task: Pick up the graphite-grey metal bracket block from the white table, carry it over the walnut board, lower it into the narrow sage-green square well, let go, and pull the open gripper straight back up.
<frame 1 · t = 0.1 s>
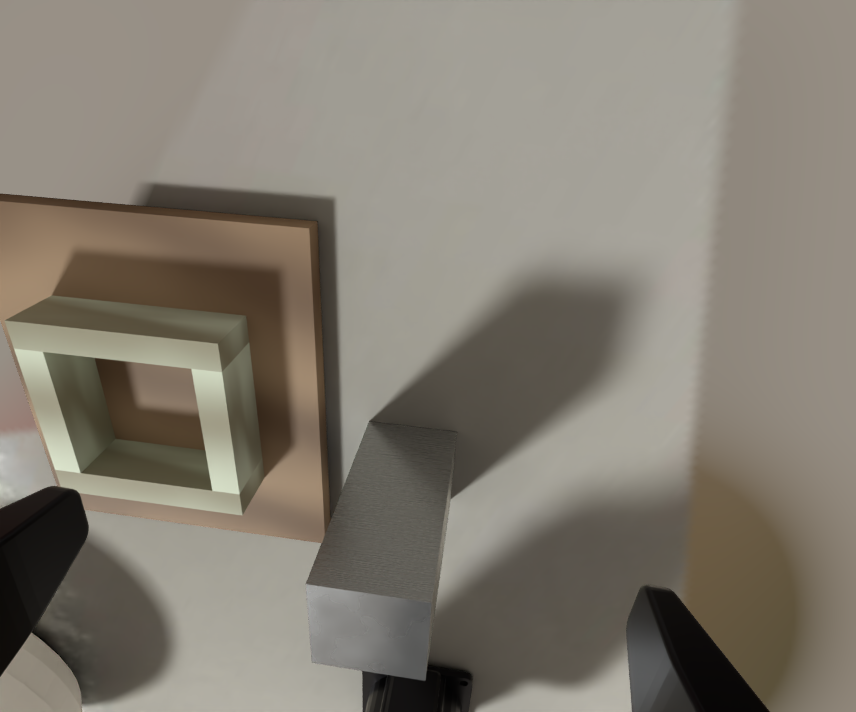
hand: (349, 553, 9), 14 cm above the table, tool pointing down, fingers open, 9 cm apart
bracket block: (411, 461, 26), on the table
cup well: (176, 380, 26), on the table
bowl: (2, 647, 39), on the table
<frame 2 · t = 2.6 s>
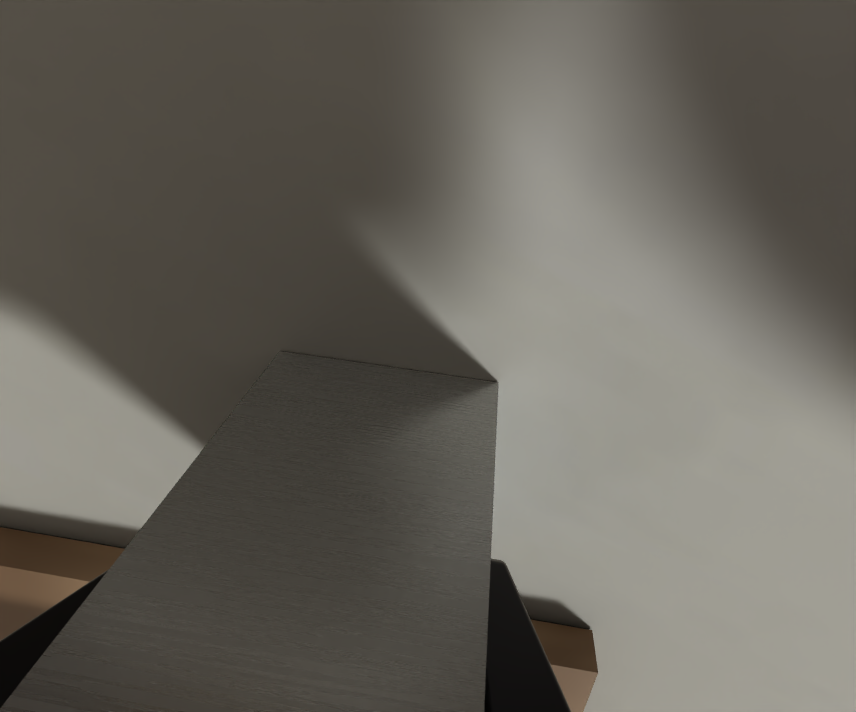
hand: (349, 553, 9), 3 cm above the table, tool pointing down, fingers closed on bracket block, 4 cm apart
bracket block: (382, 454, 11), on the table, touching gripper
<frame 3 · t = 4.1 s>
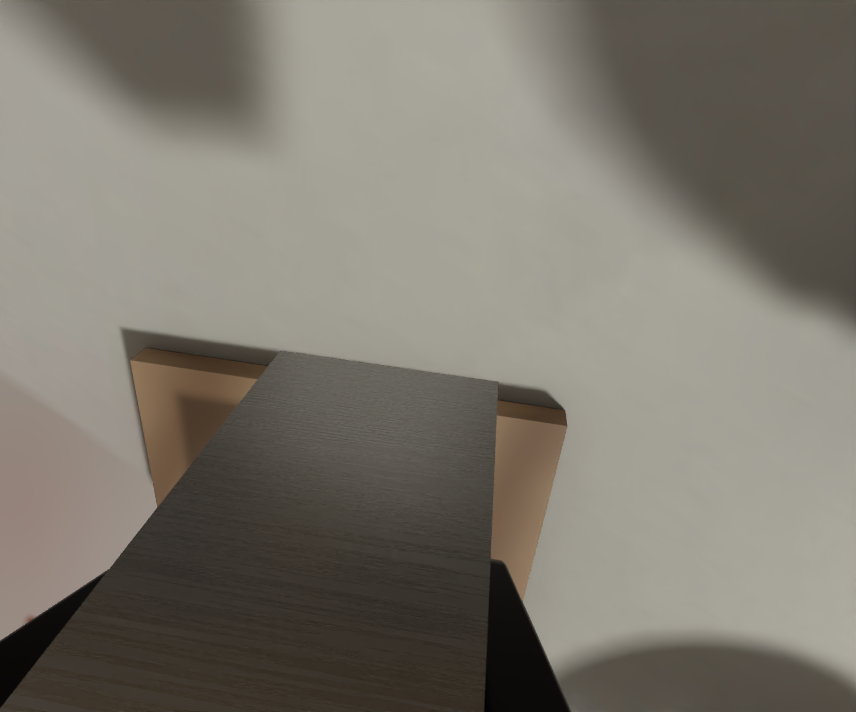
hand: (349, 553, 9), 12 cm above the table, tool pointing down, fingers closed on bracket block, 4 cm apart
bracket block: (382, 453, 11), point 9 cm above the table, touching gripper
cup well: (345, 516, 24), on the table
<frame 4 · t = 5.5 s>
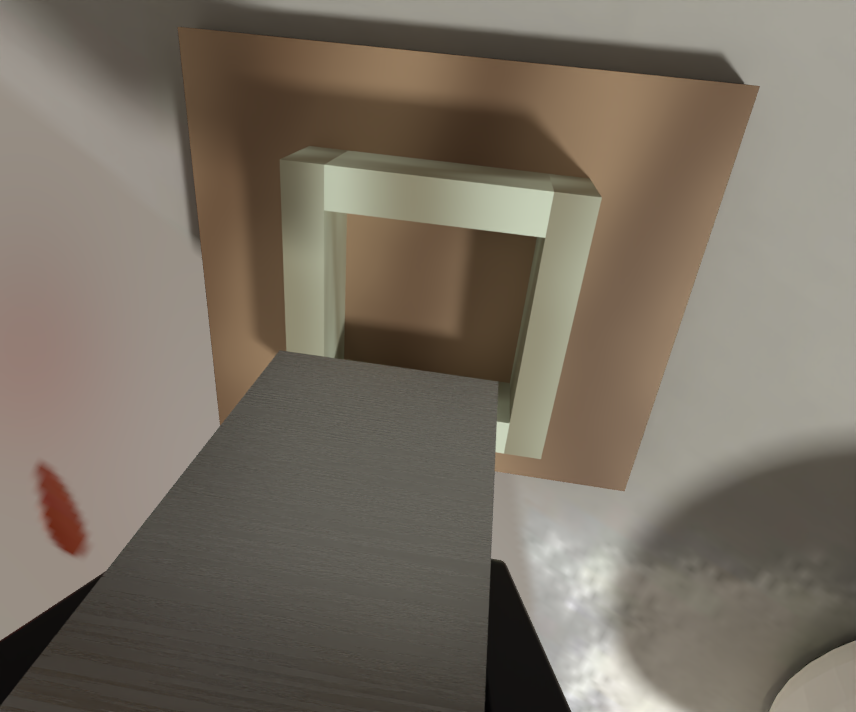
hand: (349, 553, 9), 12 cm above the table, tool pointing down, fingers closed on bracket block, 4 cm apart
bracket block: (381, 453, 11), point 10 cm above the table, touching gripper
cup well: (437, 282, 20), on the table
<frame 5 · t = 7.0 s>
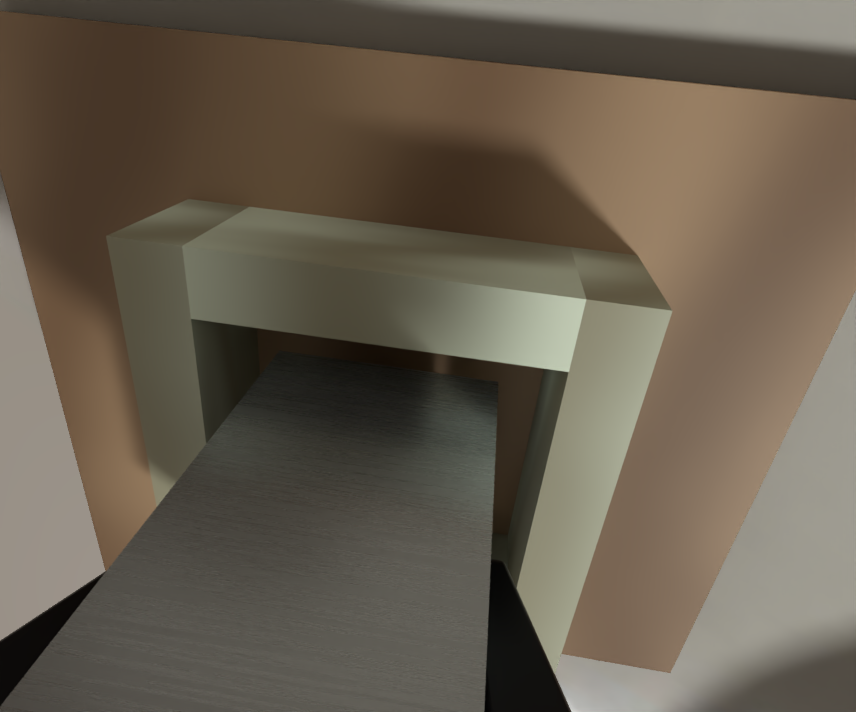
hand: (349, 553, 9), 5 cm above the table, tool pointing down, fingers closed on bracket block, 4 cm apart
bracket block: (382, 453, 11), point 2 cm above the table, touching gripper
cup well: (400, 390, 13), on the table
when the fingers open (4 cm above the table, at t = 8.2 s): bracket block stays where it is, resting on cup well.
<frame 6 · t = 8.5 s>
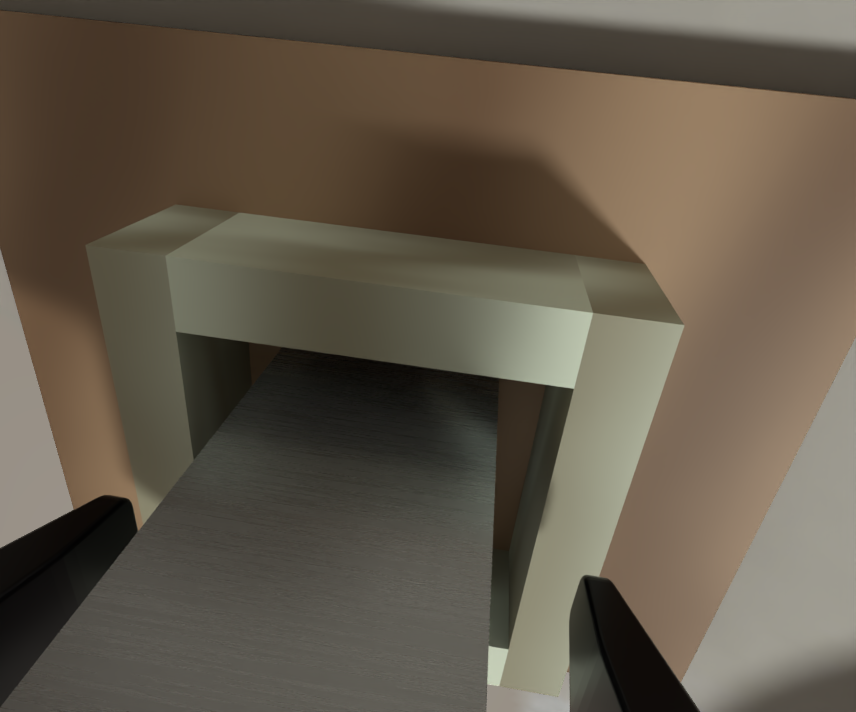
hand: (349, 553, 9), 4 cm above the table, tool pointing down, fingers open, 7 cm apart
bracket block: (391, 425, 12), point 1 cm above the table, touching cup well
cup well: (398, 401, 13), on the table
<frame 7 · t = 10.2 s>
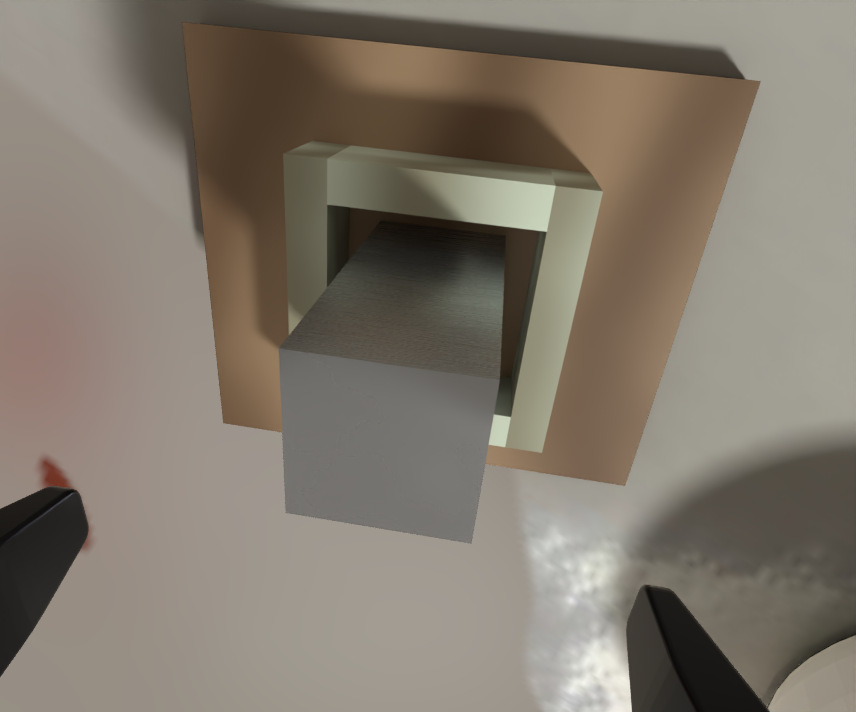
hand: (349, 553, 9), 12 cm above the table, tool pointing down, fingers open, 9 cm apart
bracket block: (436, 286, 19), point 1 cm above the table, touching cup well
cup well: (439, 277, 20), on the table
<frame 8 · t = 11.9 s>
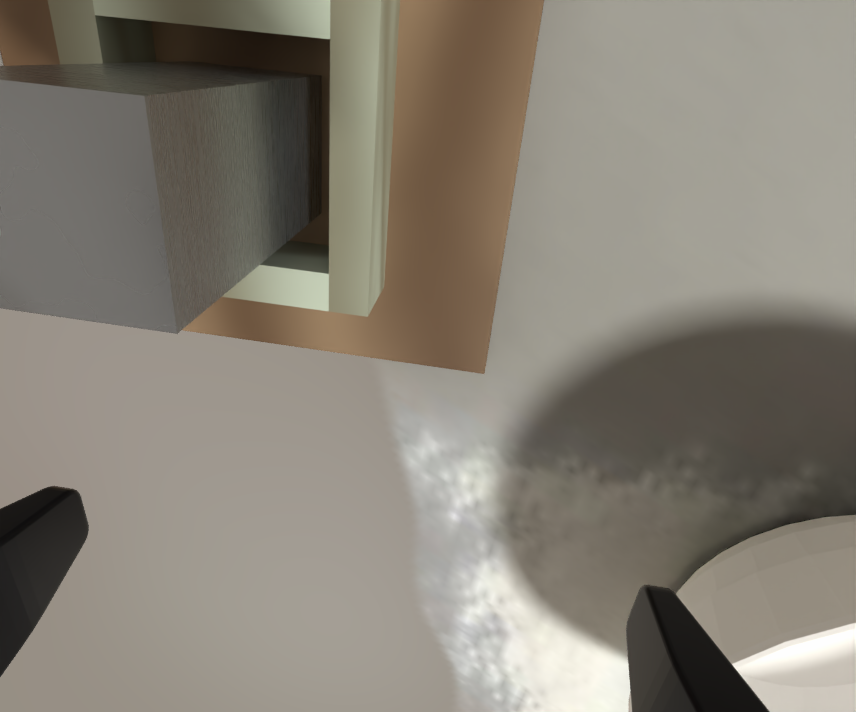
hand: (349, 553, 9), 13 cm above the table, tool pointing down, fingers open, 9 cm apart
bracket block: (258, 140, 17), point 1 cm above the table, touching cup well
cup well: (269, 137, 18), on the table
bowl: (814, 604, 25), on the table
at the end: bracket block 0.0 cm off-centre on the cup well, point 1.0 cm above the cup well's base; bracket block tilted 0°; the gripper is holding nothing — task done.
